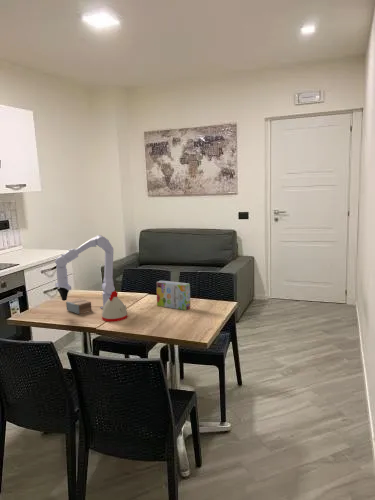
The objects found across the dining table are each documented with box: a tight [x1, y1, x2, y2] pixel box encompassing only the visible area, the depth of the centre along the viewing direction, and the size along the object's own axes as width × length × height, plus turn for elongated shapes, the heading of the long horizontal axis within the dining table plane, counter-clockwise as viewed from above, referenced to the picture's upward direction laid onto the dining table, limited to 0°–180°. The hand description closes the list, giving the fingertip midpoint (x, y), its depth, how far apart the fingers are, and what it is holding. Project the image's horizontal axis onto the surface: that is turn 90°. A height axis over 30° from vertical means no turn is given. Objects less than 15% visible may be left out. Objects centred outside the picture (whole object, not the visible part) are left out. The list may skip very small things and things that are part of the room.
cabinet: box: [67, 298, 92, 315], centre depth 241 cm, size 12×8×5 cm, turn 46°
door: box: [65, 301, 80, 315], centre depth 238 cm, size 13×1×6 cm, turn 47°
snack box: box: [155, 280, 191, 311], centre depth 240 cm, size 21×6×15 cm, turn 58°
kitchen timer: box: [101, 290, 128, 323], centre depth 225 cm, size 14×14×15 cm
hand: (64, 300), depth 234 cm, fingers closed
